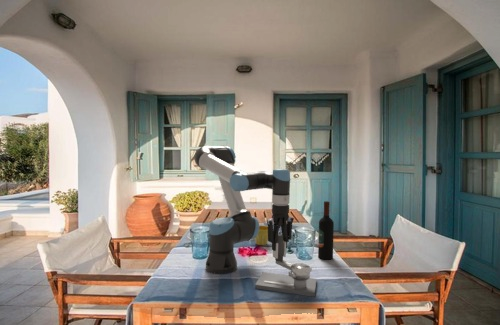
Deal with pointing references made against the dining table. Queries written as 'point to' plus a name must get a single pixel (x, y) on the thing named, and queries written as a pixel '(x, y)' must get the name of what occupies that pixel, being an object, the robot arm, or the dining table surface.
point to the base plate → (286, 284)
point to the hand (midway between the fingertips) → (279, 256)
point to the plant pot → (262, 235)
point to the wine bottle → (326, 235)
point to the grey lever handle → (297, 269)
